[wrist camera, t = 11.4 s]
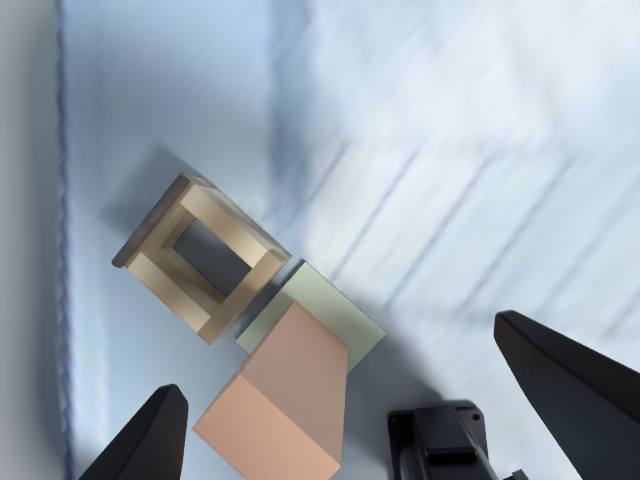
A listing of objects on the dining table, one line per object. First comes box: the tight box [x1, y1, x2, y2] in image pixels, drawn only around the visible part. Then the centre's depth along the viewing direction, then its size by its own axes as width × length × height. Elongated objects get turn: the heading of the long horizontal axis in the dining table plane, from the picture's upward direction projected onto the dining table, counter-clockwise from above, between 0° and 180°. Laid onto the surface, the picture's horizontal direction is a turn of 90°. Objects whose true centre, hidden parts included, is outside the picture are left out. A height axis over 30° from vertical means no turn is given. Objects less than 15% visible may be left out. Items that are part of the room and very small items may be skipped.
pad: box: [235, 262, 386, 375], centre depth 23 cm, size 8×8×1 cm
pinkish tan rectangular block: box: [192, 300, 348, 480], centre depth 17 cm, size 5×3×11 cm, turn 49°
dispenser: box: [111, 173, 292, 344], centre depth 21 cm, size 8×7×4 cm
